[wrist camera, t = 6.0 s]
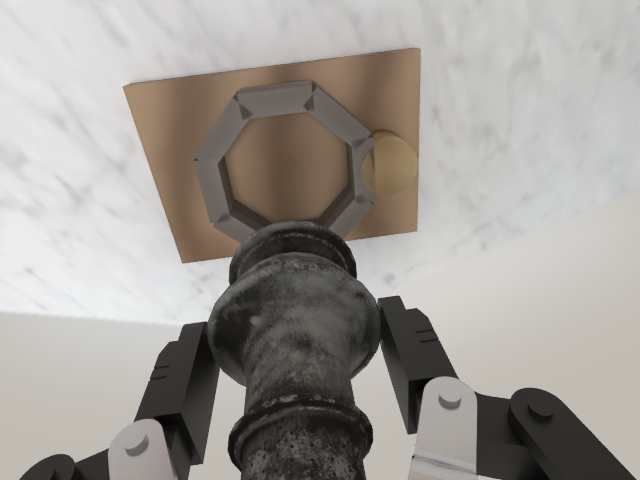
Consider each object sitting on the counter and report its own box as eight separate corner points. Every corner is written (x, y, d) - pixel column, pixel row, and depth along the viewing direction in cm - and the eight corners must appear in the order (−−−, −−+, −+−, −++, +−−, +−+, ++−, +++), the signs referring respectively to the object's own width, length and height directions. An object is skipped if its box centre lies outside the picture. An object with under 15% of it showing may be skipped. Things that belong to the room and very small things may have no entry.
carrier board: (413, 47, 27) (436, 51, 23) (411, 223, 34) (428, 248, 30) (130, 83, 27) (104, 93, 23) (186, 254, 34) (173, 284, 30)
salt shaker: (374, 313, 17) (513, 747, 7) (248, 343, 18) (199, 808, 7) (348, 196, 14) (520, 638, 4) (198, 234, 15) (-5, 745, 4)
